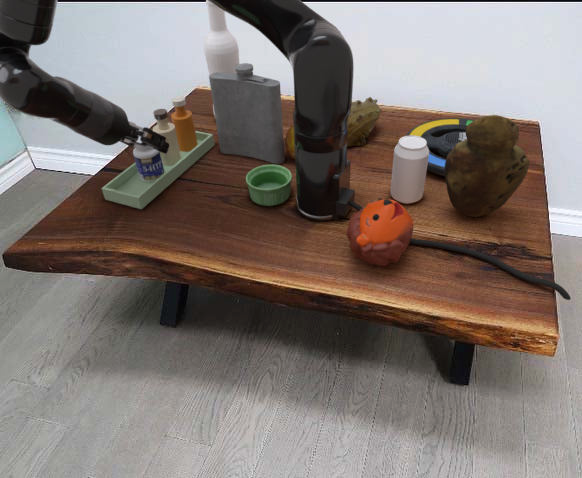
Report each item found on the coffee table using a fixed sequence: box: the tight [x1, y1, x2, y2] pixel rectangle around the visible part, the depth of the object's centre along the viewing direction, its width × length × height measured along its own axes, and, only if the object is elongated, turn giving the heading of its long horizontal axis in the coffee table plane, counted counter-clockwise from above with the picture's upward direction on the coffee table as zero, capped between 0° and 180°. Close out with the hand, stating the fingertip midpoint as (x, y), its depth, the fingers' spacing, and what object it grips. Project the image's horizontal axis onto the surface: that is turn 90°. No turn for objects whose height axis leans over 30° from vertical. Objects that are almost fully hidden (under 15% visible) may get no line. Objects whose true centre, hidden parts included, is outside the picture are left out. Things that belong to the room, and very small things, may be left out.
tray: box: [101, 130, 216, 210], centre depth 109 cm, size 9×27×3 cm, turn 155°
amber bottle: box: [170, 95, 198, 152], centre depth 112 cm, size 5×5×12 cm
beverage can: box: [389, 135, 430, 205], centre depth 94 cm, size 6×6×12 cm
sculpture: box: [444, 114, 530, 218], centre depth 86 cm, size 13×8×20 cm, turn 70°
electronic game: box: [405, 117, 517, 177], centre depth 107 cm, size 23×23×5 cm
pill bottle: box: [132, 137, 164, 182], centre depth 104 cm, size 5×5×9 cm
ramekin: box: [245, 164, 293, 207], centre depth 99 cm, size 9×9×4 cm
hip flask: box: [208, 62, 286, 165], centre depth 107 cm, size 16×4×20 cm, turn 66°
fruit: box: [284, 124, 295, 160], centre depth 108 cm, size 10×9×8 cm
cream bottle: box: [152, 108, 182, 166], centre depth 107 cm, size 5×5×12 cm
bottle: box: [203, 0, 240, 117], centre depth 118 cm, size 8×8×30 cm
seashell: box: [347, 96, 383, 148], centre depth 115 cm, size 11×14×10 cm
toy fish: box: [346, 198, 415, 267], centre depth 82 cm, size 12×10×11 cm
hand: (149, 145), depth 103 cm, fingers open, 8 cm apart
